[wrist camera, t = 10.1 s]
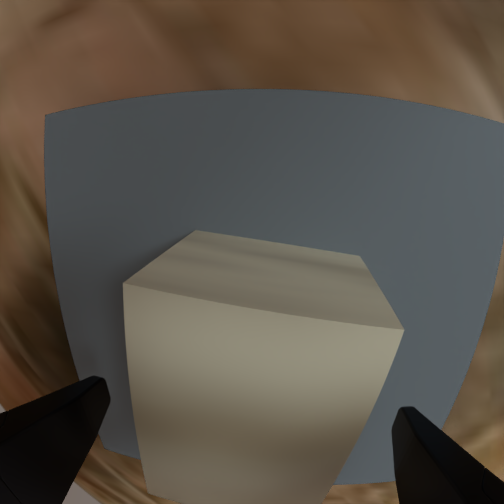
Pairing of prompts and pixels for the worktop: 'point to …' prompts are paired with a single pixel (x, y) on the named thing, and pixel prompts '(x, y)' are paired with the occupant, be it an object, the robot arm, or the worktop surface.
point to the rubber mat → (283, 222)
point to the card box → (253, 367)
